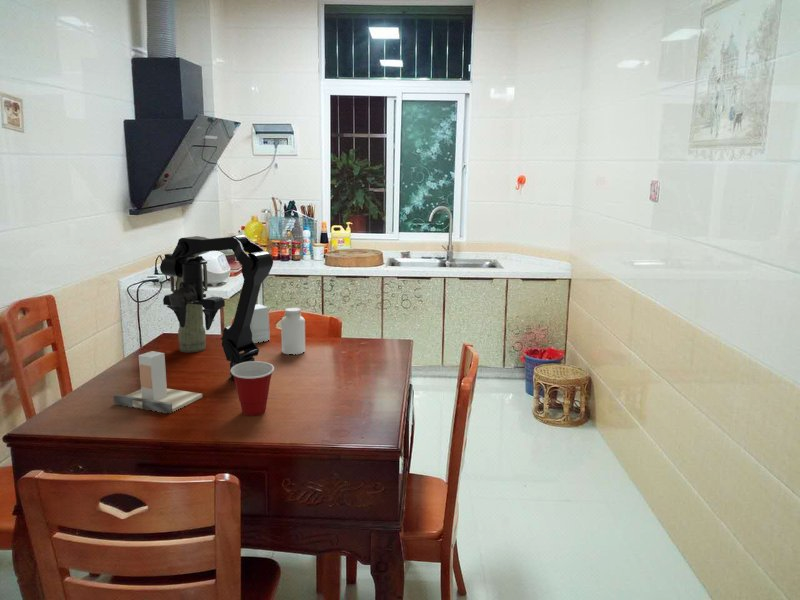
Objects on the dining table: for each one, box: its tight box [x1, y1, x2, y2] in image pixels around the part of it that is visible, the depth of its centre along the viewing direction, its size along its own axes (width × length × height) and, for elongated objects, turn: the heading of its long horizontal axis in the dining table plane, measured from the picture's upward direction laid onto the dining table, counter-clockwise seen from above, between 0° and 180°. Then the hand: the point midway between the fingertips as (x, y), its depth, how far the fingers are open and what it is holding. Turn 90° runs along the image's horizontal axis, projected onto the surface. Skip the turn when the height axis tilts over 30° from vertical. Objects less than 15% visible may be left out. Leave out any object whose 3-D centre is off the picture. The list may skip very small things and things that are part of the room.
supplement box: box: [250, 303, 271, 344], centre depth 228 cm, size 7×7×13 cm
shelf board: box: [113, 388, 203, 415], centre depth 168 cm, size 18×13×2 cm
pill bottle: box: [280, 307, 306, 356], centre depth 214 cm, size 8×8×15 cm
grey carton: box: [138, 350, 168, 401], centre depth 167 cm, size 5×4×12 cm
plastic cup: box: [229, 360, 275, 417], centre depth 160 cm, size 11×11×12 cm
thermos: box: [169, 255, 208, 353], centre depth 214 cm, size 9×12×35 cm
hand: (195, 328), depth 193 cm, fingers open, 9 cm apart
